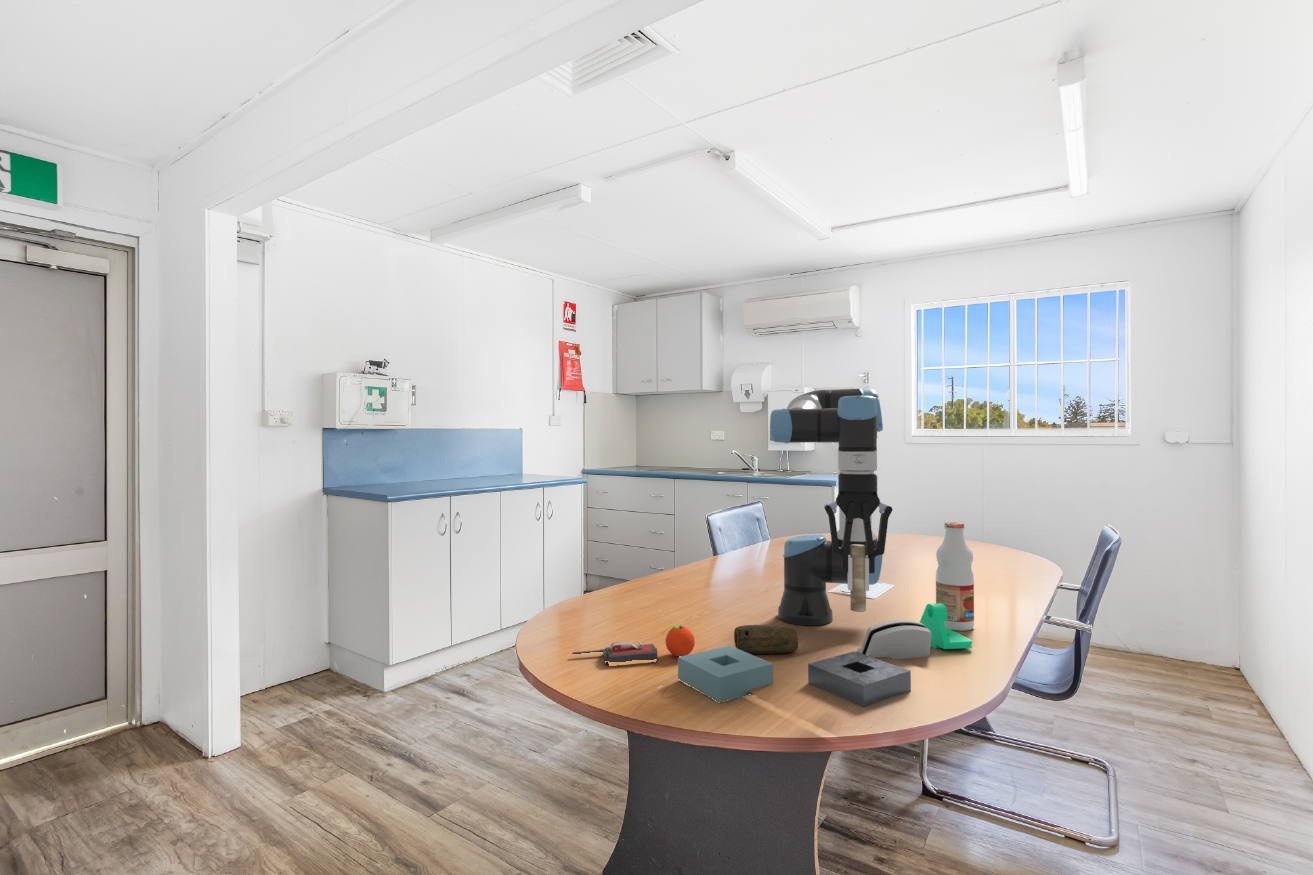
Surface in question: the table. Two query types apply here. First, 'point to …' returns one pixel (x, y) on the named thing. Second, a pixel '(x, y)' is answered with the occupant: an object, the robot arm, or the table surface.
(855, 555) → the pin
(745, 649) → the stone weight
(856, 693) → the mount block
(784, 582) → the robot arm
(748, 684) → the socket block
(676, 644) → the clementine
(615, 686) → the table surface
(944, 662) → the table surface
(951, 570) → the fruit juice
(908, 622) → the grey rounded slab
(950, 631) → the camera mount
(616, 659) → the walkie-talkie
